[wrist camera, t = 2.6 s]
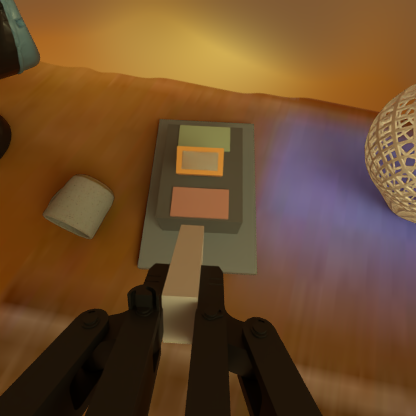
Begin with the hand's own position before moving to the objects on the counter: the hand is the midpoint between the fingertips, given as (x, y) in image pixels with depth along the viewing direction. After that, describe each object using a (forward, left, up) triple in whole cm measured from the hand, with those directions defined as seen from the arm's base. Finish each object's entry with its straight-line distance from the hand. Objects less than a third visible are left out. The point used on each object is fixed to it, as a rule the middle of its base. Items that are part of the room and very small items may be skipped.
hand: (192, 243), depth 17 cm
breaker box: (-9, +13, -24) cm, 29 cm away
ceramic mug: (-22, -2, -24) cm, 33 cm away
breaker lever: (-9, +13, -17) cm, 23 cm away
